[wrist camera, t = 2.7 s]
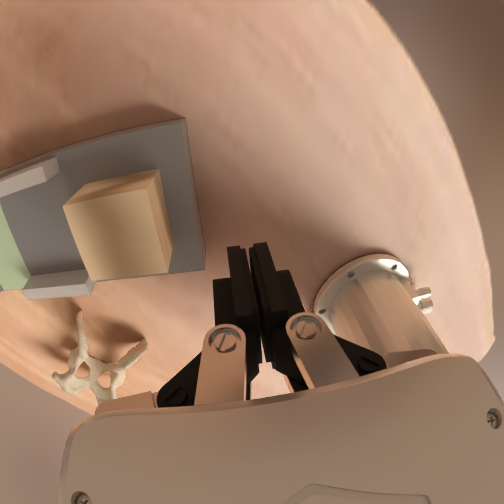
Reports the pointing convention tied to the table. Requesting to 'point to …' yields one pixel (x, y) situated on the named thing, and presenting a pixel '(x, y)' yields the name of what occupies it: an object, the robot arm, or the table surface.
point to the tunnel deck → (67, 184)
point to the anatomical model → (96, 368)
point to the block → (122, 226)
